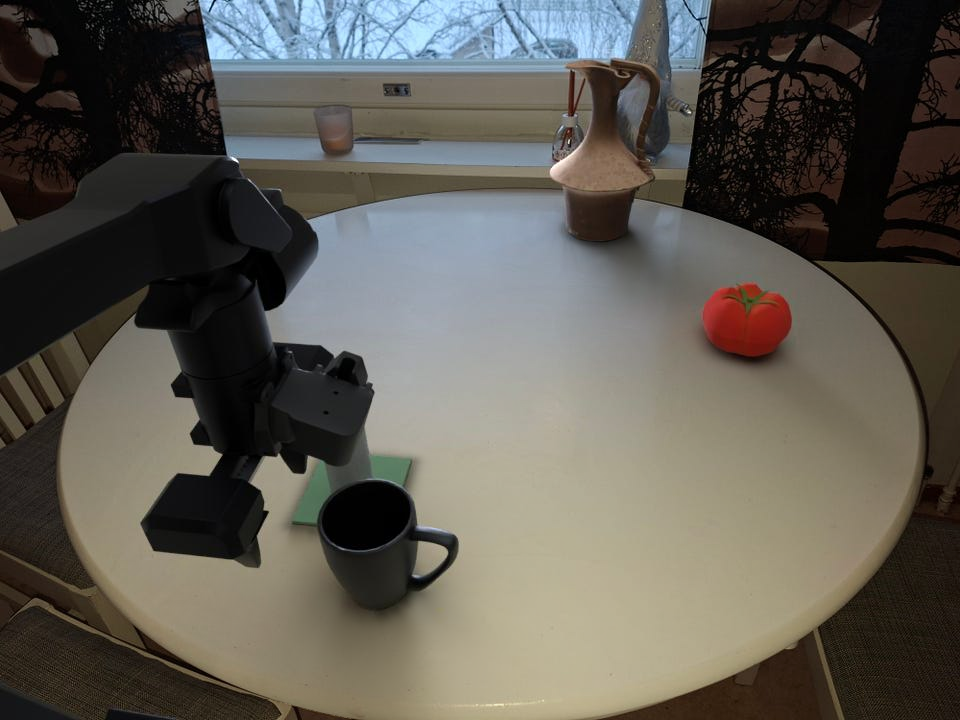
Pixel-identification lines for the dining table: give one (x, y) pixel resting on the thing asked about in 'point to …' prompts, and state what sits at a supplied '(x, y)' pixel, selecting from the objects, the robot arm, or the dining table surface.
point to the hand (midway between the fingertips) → (278, 515)
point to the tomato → (746, 319)
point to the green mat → (320, 489)
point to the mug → (377, 542)
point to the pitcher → (606, 155)
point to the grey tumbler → (352, 467)
